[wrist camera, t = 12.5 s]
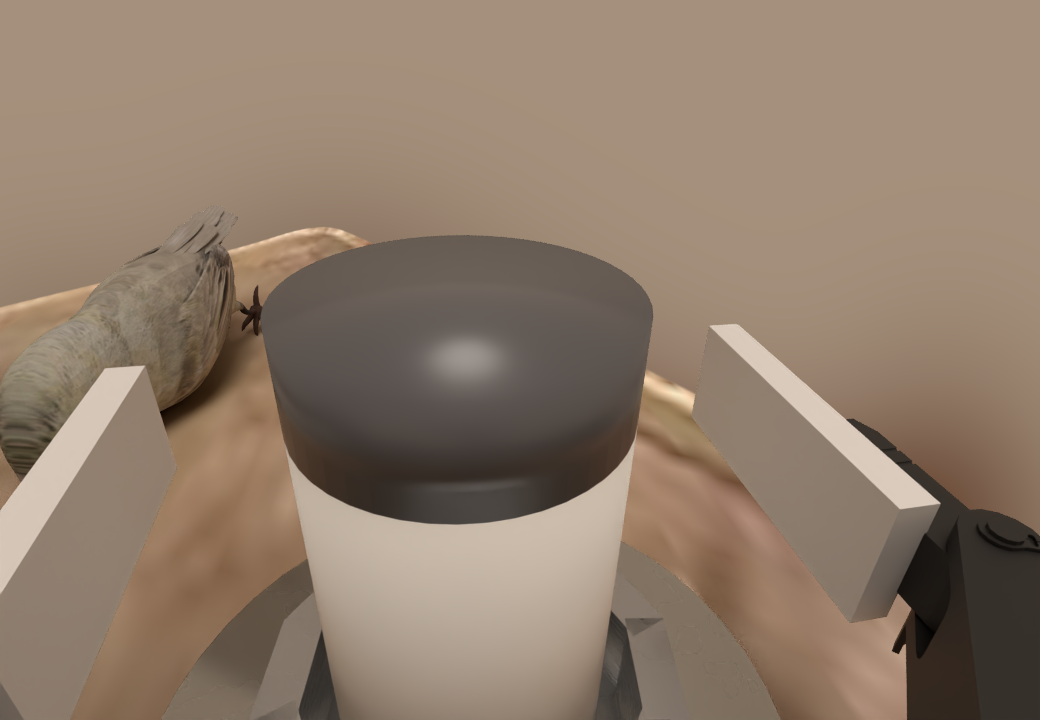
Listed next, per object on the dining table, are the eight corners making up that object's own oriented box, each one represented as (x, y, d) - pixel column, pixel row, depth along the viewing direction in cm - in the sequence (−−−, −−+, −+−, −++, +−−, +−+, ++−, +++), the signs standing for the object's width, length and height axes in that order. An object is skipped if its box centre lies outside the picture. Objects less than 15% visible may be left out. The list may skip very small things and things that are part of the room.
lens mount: (-38, 896, 13) (-115, 814, 12) (413, 476, 26) (408, 405, 24) (702, 1763, 7) (773, 1863, 5) (830, 647, 19) (864, 567, 18)
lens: (296, 783, 15) (165, 325, 9) (439, 598, 19) (417, 218, 13) (523, 938, 12) (555, 455, 6) (623, 684, 17) (694, 271, 11)
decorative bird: (-20, 511, 24) (-112, 337, 20) (200, 325, 38) (169, 203, 34) (118, 521, 23) (50, 347, 20) (287, 330, 37) (266, 208, 34)
